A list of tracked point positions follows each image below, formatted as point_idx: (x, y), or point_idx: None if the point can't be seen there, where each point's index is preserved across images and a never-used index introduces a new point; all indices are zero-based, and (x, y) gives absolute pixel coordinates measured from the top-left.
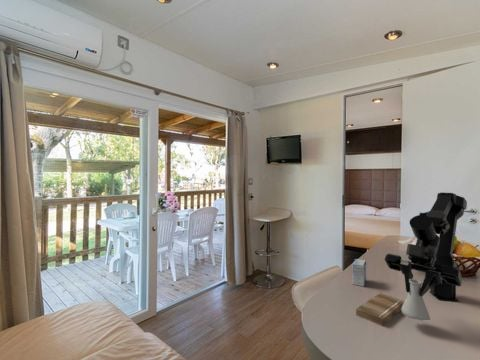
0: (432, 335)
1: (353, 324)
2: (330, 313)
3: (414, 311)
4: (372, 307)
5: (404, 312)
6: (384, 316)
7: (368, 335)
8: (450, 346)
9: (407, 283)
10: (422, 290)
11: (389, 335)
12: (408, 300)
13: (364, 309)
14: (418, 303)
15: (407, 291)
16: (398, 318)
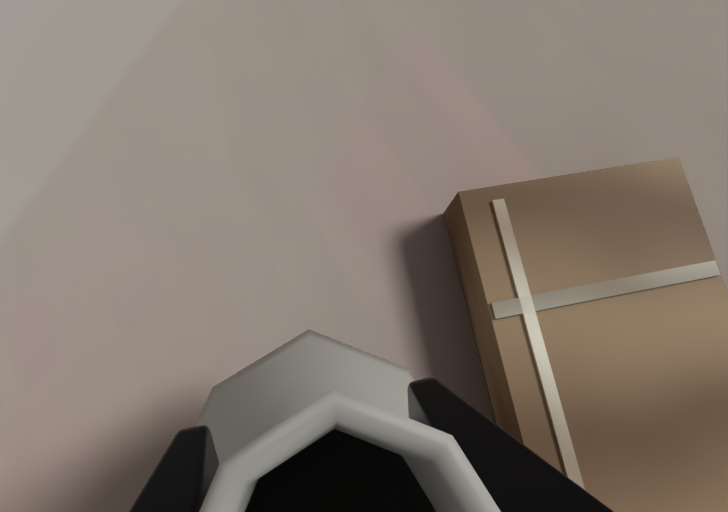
0: (159, 454)
1: (550, 52)
2: (724, 36)
3: (274, 371)
4: (645, 307)
5: (376, 360)
6: (485, 252)
7: (411, 25)
8: (3, 418)
9: (490, 465)
10: (157, 497)
11: (342, 143)
12: (371, 393)
13: (641, 205)
14: (242, 423)
15: (411, 390)
16: None
